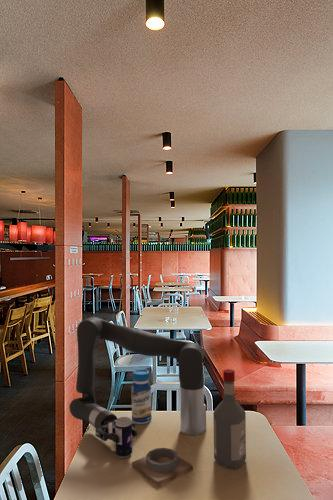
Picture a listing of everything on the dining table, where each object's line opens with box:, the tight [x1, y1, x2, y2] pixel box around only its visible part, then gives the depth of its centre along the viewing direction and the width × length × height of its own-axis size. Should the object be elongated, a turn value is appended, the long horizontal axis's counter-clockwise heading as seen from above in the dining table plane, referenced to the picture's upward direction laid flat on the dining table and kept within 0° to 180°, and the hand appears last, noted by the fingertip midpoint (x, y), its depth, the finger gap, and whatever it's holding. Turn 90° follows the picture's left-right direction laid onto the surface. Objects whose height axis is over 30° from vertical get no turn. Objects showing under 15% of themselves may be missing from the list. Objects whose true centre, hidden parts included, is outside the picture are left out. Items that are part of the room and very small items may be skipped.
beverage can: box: [115, 416, 133, 459], centre depth 135 cm, size 6×6×12 cm
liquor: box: [213, 368, 247, 470], centre depth 130 cm, size 9×9×30 cm
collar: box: [145, 447, 179, 473], centre depth 127 cm, size 10×10×2 cm
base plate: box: [131, 455, 194, 488], centre depth 127 cm, size 14×14×2 cm
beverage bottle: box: [130, 369, 153, 425], centre depth 162 cm, size 8×8×20 cm
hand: (127, 436), depth 134 cm, fingers open, 6 cm apart
